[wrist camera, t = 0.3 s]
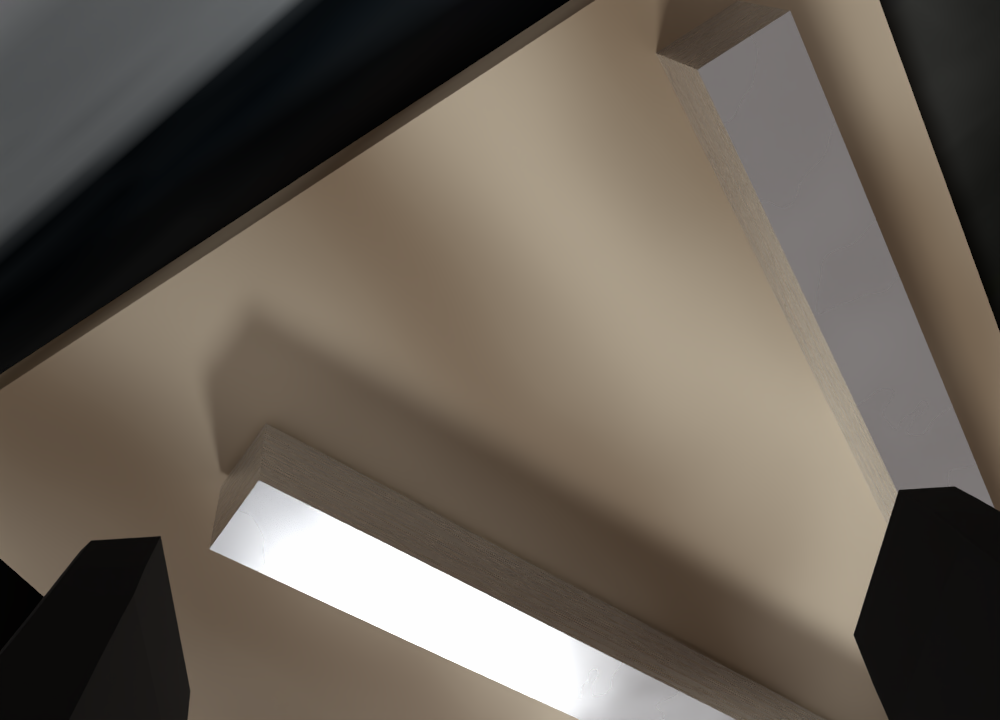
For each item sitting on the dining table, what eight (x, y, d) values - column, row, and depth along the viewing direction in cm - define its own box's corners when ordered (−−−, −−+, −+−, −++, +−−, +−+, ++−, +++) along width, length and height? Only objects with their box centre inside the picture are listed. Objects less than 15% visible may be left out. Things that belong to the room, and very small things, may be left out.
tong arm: (944, 841, 26) (992, 912, 24) (220, 486, 18) (208, 552, 16) (1031, 763, 25) (1087, 830, 24) (315, 352, 17) (315, 405, 15)
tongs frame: (943, 909, 28) (994, 992, 26) (482, 165, 16) (505, 201, 14) (1113, 819, 28) (1179, 895, 25) (763, -16, 16) (832, -7, 14)
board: (597, 1050, 30) (608, 1091, 29) (-84, 429, 18) (-110, 461, 17) (1135, 759, 28) (1166, 792, 27) (791, -146, 16) (824, -150, 15)
